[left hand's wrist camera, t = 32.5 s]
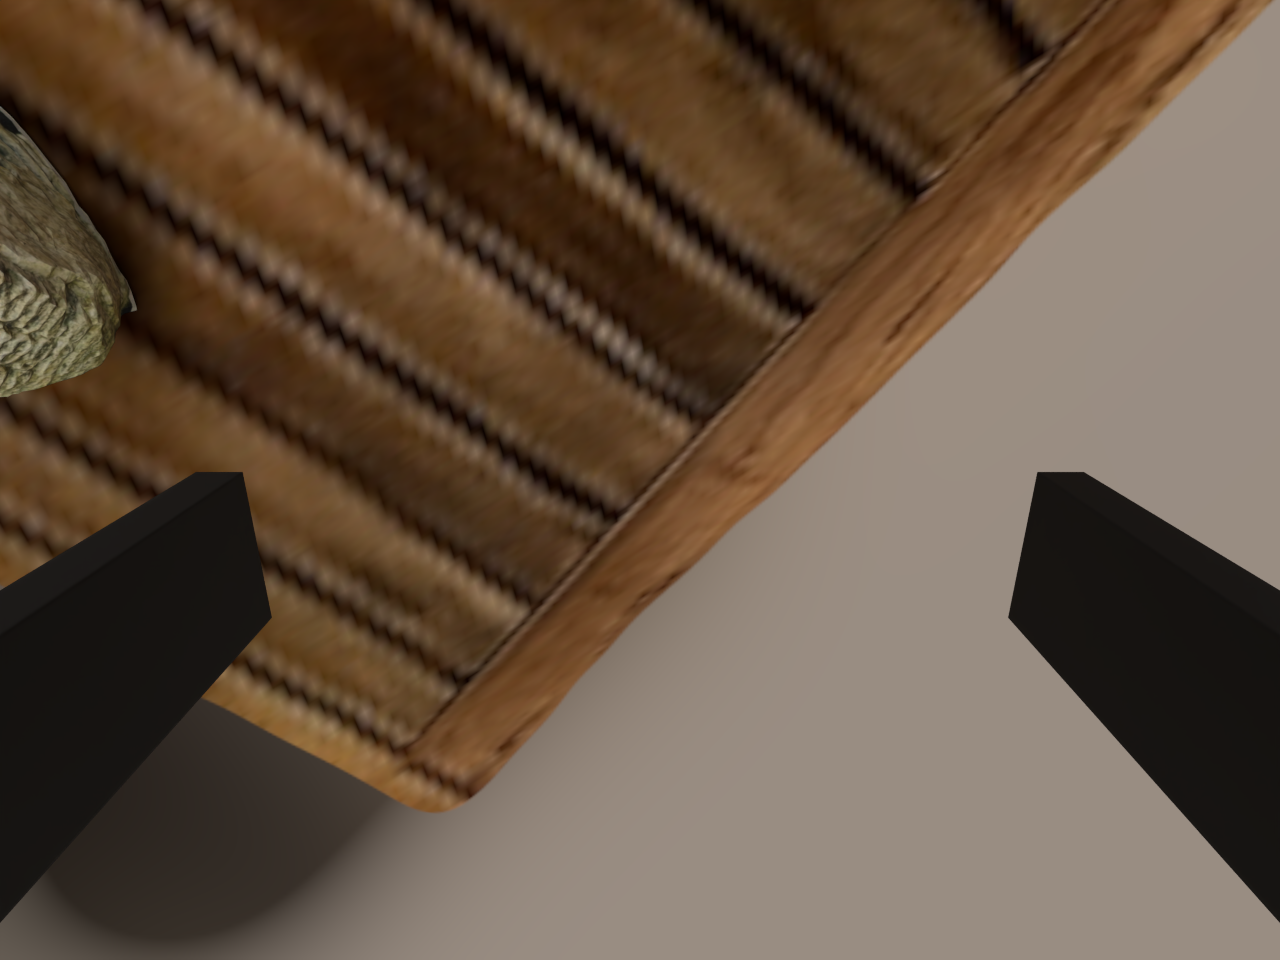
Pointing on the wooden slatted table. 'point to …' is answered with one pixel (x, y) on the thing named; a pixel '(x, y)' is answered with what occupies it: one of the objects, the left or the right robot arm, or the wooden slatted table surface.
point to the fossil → (50, 274)
